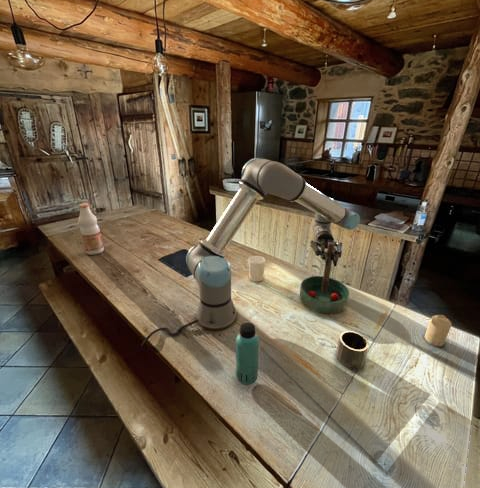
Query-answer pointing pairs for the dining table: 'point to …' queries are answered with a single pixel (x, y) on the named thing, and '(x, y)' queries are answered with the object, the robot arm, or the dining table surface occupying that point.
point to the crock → (352, 349)
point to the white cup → (256, 268)
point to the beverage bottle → (247, 354)
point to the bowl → (324, 295)
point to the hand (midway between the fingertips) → (331, 262)
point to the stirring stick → (328, 267)
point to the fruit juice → (90, 230)
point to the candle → (438, 330)
